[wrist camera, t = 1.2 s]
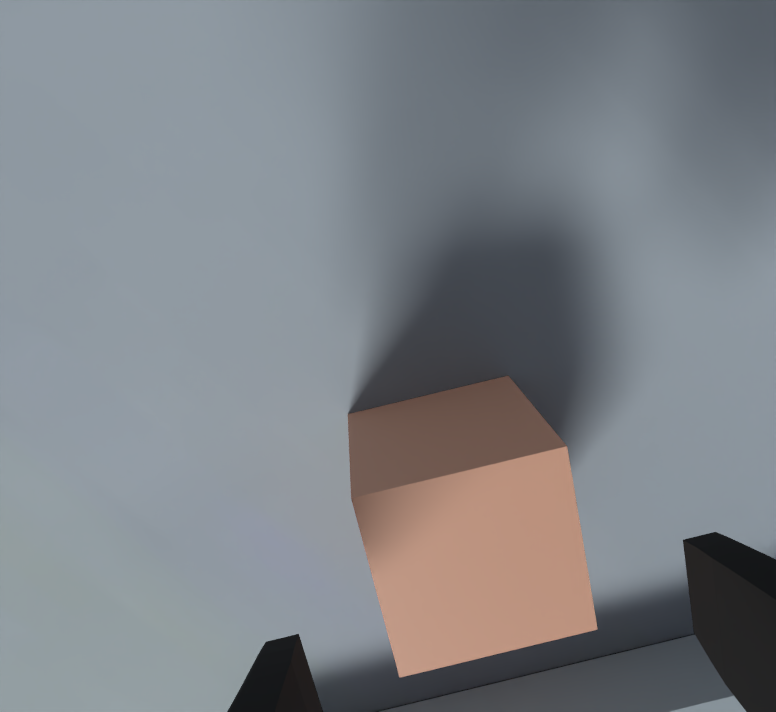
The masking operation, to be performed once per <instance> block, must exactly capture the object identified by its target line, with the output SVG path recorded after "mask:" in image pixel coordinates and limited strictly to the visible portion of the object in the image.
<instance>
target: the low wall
mask: <svg viewBox="0 0 776 712" xmlns="http://www.w3.org/2000/svg"><path fill="white" fill-rule="evenodd" d="M379 712H746V711H745V709H744V708H743V707H742V705H741V704H740V703H739V702H738V700H737V699H736V698H735V696H734V695H733V694H732V692H731V691H730V690H729V688H728V687H727V686H726V685H725V683H724V681H723V680H722V678H721V677H720V675H719V673H718V672H717V670H716V669H715V667H714V666H713V664H712V662H711V661H710V659H709V657H708V656H707V654H706V652H705V651H704V649H703V647H702V646H701V644H700V642H699V640H698V639H697V637H696V635H691V636H687V637H683V638H679V639H675V640H671V641H666V642H662V643H658V644H654V645H650V646H646V647H642V648H638V649H634V650H630V651H625V652H621V653H617V654H613V655H609V656H605V657H601V658H597V659H593V660H588V661H584V662H580V663H576V664H572V665H568V666H564V667H560V668H556V669H552V670H547V671H543V672H539V673H535V674H531V675H527V676H523V677H519V678H515V679H511V680H506V681H502V682H498V683H494V684H490V685H486V686H482V687H478V688H474V689H470V690H465V691H461V692H457V693H453V694H449V695H445V696H441V697H437V698H433V699H429V700H424V701H420V702H416V703H412V704H408V705H404V706H400V707H396V708H392V709H388V710H383V711H379Z"/></svg>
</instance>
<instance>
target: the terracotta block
mask: <svg viewBox="0 0 776 712" xmlns="http://www.w3.org/2000/svg"><path fill="white" fill-rule="evenodd" d="M348 430H349V454H350V479H351V499H352V503H353V507H354V510H355V514H356V518H357V521H358V525H359V529H360V533H361V536H362V540H363V544H364V547H365V551H366V555H367V559H368V562H369V566H370V570H371V573H372V577H373V581H374V585H375V588H376V592H377V596H378V599H379V603H380V607H381V610H382V614H383V618H384V622H385V625H386V629H387V633H388V636H389V640H390V644H391V648H392V651H393V655H394V659H395V662H396V666H397V670H398V674H399V677H400V678H401V677H405V676H409V675H413V674H417V673H421V672H426V671H430V670H434V669H438V668H442V667H446V666H450V665H454V664H458V663H463V662H467V661H471V660H475V659H479V658H483V657H487V656H491V655H495V654H500V653H504V652H508V651H512V650H516V649H520V648H524V647H528V646H532V645H536V644H541V643H545V642H549V641H553V640H557V639H561V638H565V637H569V636H573V635H578V634H582V633H586V632H590V631H594V630H598V629H597V623H596V617H595V611H594V605H593V599H592V593H591V587H590V581H589V575H588V569H587V563H586V557H585V551H584V545H583V539H582V533H581V527H580V521H579V515H578V509H577V503H576V497H575V491H574V485H573V479H572V473H571V467H570V461H569V455H568V449H567V446H566V444H565V443H564V442H563V441H562V440H561V438H560V437H559V436H558V435H557V434H556V432H555V431H554V430H553V429H552V428H551V426H550V425H549V424H548V423H547V422H546V420H545V419H544V418H543V417H542V415H541V414H540V413H539V412H538V411H537V409H536V408H535V407H534V406H533V405H532V403H531V402H530V401H529V400H528V399H527V397H526V396H525V395H524V394H523V393H522V391H521V390H520V389H519V388H518V387H517V385H516V384H515V383H514V382H513V381H512V379H511V378H510V377H509V376H504V377H500V378H496V379H492V380H488V381H484V382H479V383H475V384H471V385H467V386H463V387H459V388H454V389H450V390H446V391H442V392H438V393H434V394H429V395H425V396H421V397H417V398H413V399H409V400H405V401H400V402H396V403H392V404H388V405H384V406H380V407H375V408H371V409H367V410H363V411H359V412H355V413H350V414H348Z"/></svg>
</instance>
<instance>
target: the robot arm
mask: <svg viewBox="0 0 776 712" xmlns="http://www.w3.org/2000/svg"><path fill="white" fill-rule="evenodd" d="M683 544H684V552H685V561H686V569H687V578H688V586H689V595H690V603H691V612H692V620H693V629H694V634H695V635H696V637H697V639H698V640H699V642H700V644H701V646H702V647H703V649H704V651H705V652H706V654H707V656H708V657H709V659H710V661H711V662H712V664H713V666H714V667H715V669H716V670H717V672H718V673H719V675H720V677H721V678H722V680H723V681H724V683H725V685H726V686H727V687H728V688H729V690H730V691H731V692H732V694H733V695H734V696H735V698H736V699H737V700H738V702H739V703H740V704H741V705H742V707H743V708H744V709H745V711H746V712H776V559H773V558H771V557H769V556H767V555H765V554H763V553H761V552H759V551H757V550H754V549H752V548H750V547H748V546H746V545H744V544H742V543H739V542H737V541H735V540H733V539H731V538H728V537H726V536H724V535H721V534H719V533H717V532H713V533H709V534H705V535H701V536H697V537H693V538H689V539H685V540H683ZM227 712H323V710H322V707H321V704H320V701H319V698H318V694H317V691H316V688H315V685H314V682H313V678H312V675H311V672H310V669H309V666H308V662H307V659H306V656H305V653H304V650H303V646H302V643H301V640H300V637H299V634H296V635H292V636H288V637H284V638H280V639H276V640H272V641H268V642H266V643H265V644H264V646H263V647H262V649H261V651H260V653H259V654H258V656H257V658H256V660H255V662H254V664H253V666H252V668H251V669H250V671H249V673H248V675H247V677H246V679H245V681H244V683H243V684H242V686H241V688H240V690H239V692H238V694H237V695H236V697H235V699H234V701H233V703H232V704H231V706H230V708H229V710H228V711H227Z"/></svg>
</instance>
